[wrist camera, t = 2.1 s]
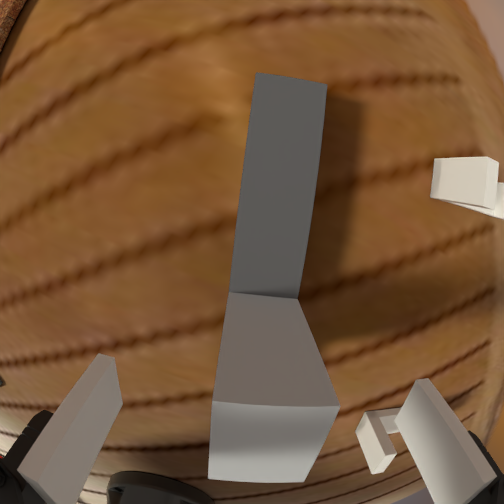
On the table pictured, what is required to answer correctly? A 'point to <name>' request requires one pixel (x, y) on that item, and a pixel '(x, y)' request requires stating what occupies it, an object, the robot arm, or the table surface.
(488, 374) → the table surface
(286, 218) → the bar
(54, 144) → the table surface
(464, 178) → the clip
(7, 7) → the decorative handgun
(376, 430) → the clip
